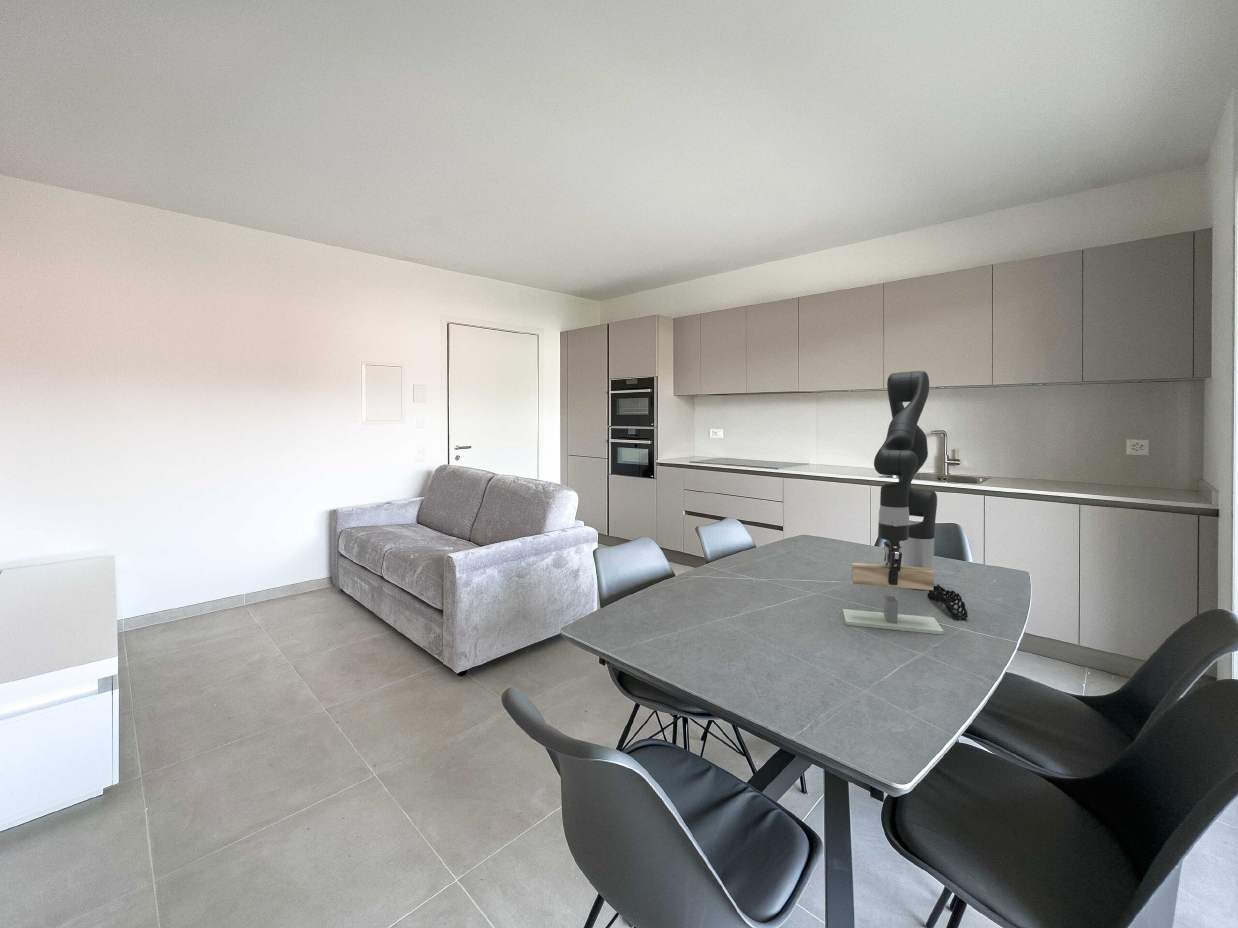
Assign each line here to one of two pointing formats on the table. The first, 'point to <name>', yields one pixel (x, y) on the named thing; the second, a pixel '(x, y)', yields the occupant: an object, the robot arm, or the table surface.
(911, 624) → the fulcrum
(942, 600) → the decorative element
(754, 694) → the table surface
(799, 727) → the table surface
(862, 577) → the plank
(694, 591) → the table surface
